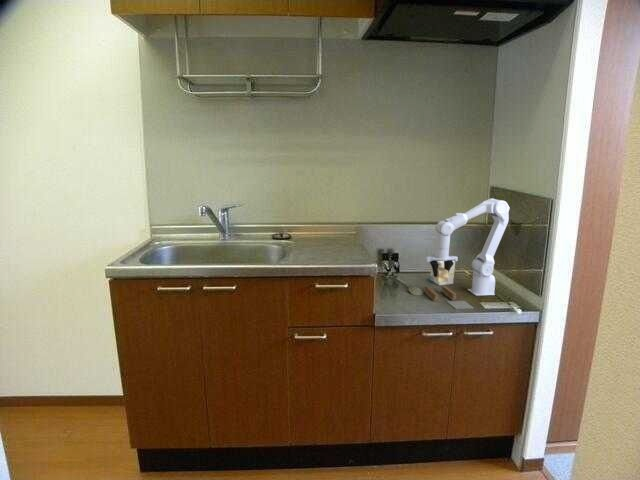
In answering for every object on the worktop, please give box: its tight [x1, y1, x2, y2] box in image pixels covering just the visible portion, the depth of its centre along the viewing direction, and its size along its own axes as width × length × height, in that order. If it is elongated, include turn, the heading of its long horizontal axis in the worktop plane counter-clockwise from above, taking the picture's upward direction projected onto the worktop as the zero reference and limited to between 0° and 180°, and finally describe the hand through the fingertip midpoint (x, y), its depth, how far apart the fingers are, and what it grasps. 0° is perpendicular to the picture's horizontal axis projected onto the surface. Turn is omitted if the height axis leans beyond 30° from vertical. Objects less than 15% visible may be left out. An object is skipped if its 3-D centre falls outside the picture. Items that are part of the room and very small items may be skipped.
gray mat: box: [446, 300, 474, 310], centre depth 169 cm, size 8×8×1 cm
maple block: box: [433, 267, 448, 282], centre depth 181 cm, size 4×6×5 cm
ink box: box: [429, 261, 456, 286], centre depth 198 cm, size 9×8×13 cm
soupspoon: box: [396, 277, 424, 296], centre depth 191 cm, size 22×3×7 cm
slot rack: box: [423, 285, 457, 302], centre depth 179 cm, size 10×11×3 cm
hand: (440, 276), depth 181 cm, fingers closed on maple block, 4 cm apart
